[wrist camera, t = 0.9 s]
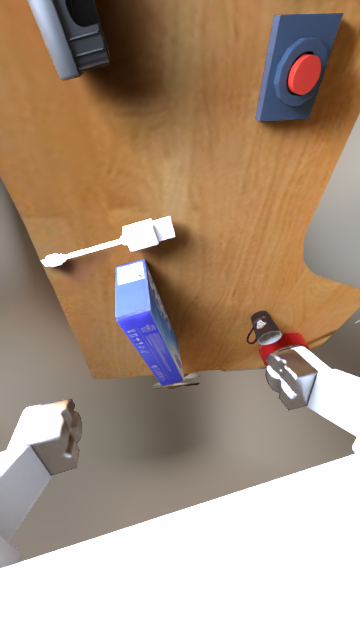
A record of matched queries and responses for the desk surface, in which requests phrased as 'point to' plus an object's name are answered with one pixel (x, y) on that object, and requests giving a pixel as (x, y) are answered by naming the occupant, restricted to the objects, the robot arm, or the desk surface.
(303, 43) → the button box
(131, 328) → the toner cartridge
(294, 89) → the button
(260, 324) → the coffee mug
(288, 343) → the toy clock
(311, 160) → the desk surface
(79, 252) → the charging cable
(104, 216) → the desk surface
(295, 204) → the desk surface
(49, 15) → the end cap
